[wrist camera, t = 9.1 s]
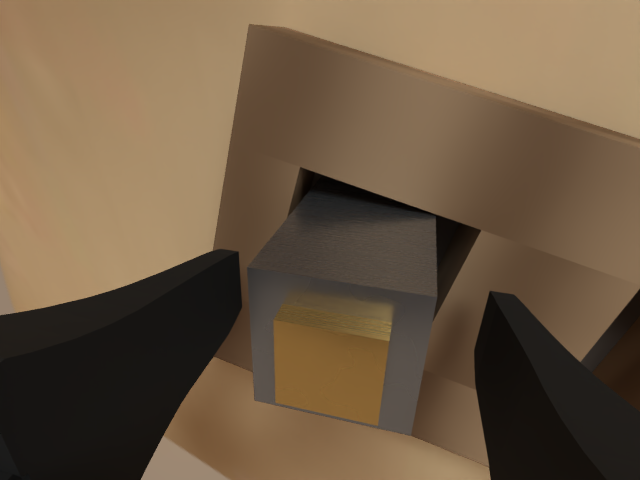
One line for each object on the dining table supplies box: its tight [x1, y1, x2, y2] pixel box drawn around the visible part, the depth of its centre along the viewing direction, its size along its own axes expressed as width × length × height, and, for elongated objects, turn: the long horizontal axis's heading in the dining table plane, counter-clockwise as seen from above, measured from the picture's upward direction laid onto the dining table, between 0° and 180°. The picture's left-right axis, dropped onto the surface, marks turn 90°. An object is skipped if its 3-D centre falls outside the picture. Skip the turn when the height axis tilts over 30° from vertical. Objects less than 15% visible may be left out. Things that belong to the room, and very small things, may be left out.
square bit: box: [247, 175, 437, 436], centre depth 12 cm, size 4×4×8 cm
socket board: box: [213, 24, 640, 467], centre depth 14 cm, size 17×12×3 cm
